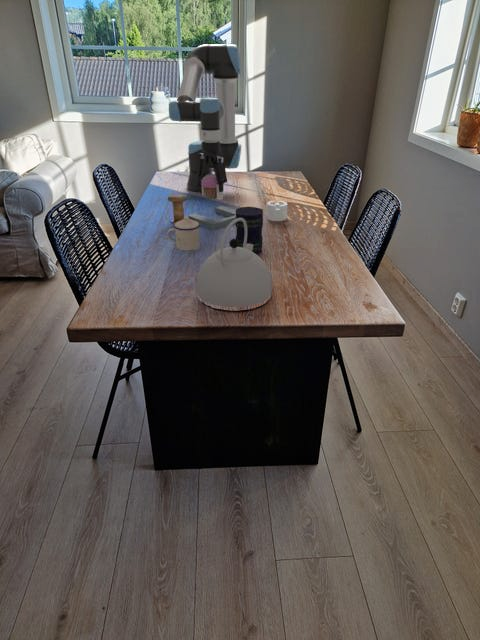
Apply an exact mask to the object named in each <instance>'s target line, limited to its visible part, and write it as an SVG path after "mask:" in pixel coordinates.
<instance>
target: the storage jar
mask: <svg viewBox="0 0 480 640" xmlns="http://www.w3.org/2000/svg"><path fill="white" fill-rule="evenodd" d="M235 210H236V218H235V219H237V218H243V219H244V220H245V221H246V224H247V242H246V245H247V244H253V249H252V252H253V253H255V254H256V255H257V256H259V255H260V254H261V253H262V252H263V249H262V248H263V243H264V242H263V241H264V239H263V228H264V209H262V208H260V207H255V206H242V207H238V208H236V209H235ZM234 225H235V227H236V228H235V229H236V236H235V239H236V240H238V243H239V244H238V246H237V247H242V248H243V243H244V236H245V228H244V223H243V222H242V221H238V222H236V223H234Z"/></svg>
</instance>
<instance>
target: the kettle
mask: <svg viewBox="0 0 480 640" xmlns="http://www.w3.org/2000/svg"><path fill="white" fill-rule="evenodd" d="M238 221H242V222H243V223H244V228H245V236H244V243H243V248H242V247H237V246H238V244H239V243H238V240H236V238H232V239H230V241H229V246H227V247H224V246H225V245H224V244H225V241H226V237H227V234H228V232H229V230H230V229H231V227H232V226H233V225H235V223H236V222H238ZM246 242H247V224H246V221H245V220H244V219H243V218H237V219H235V220H234V221H232V222H231V223H230V224H229V225H226V228H225V230H224V232H223V234H222V237H221V241H220V246H219V248H220V249H218V250H217V251H215V252H214V253H212V254H211V255H210V256H209V257H208V258H206V259H205V261H203V263H202V265H201V267H200V268H199V272H198V274H197V279H196V280H197V281H196V295H197V294H198V296H199V297H200V298H201V299H202V300H204V301H205V302H207V303H210V304H213V305H217V306H222V307H246V306H252V305H256V304H259V303H261V302H263V301H265V300H266V299H268V298H269V296H270V295H271V291H272V289H273V288H272V286H273V285H272V277H271V273H270V270H269V268H268V266H267V264H266V263H265V261H264V260H263V259H262V258H261V257H260V256H259V255H256V254H255V253H253V252H252V249H253V244H247V245H246ZM272 292H273V291H272Z"/></svg>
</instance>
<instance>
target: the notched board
mask: <svg viewBox="0 0 480 640" xmlns="http://www.w3.org/2000/svg"><path fill="white" fill-rule="evenodd" d="M215 213H216V214H219V215H222V216H225V217H224V218H222V219H219V220H215V219H212V218H210V217H206V216H203V215H200V214H198V213H192V214H189V215H187V217H189V219H191V220H194V221H197V222H198V223H199V226H200V225H201V227H202V226H203V227H204V228H206V229H210V230H212V231H213V230H215V229H220V228H223V227H227V226H228V225H229V224H230V223H231V222H232V221H234V220H235V218H236V209H233V208H230V207H226V206H223V205H221V206H220V205H219V206H216V207H215Z"/></svg>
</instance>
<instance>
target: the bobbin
mask: <svg viewBox="0 0 480 640" xmlns="http://www.w3.org/2000/svg"><path fill="white" fill-rule="evenodd" d="M187 200H188V196H187V195H185V194H181V193H178V194H170V195H168V196H167V201H168V202H171V203H172V210H173V211H172V212H173V213H172V214H173V218H174V219H173V218H172V219H173V220H174V221H173V222H172V223H171V224H173V223H176V222H178V221H181V220H183V219H184V217H185V212H184V211H185V210H184V202H185V201H187Z"/></svg>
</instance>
